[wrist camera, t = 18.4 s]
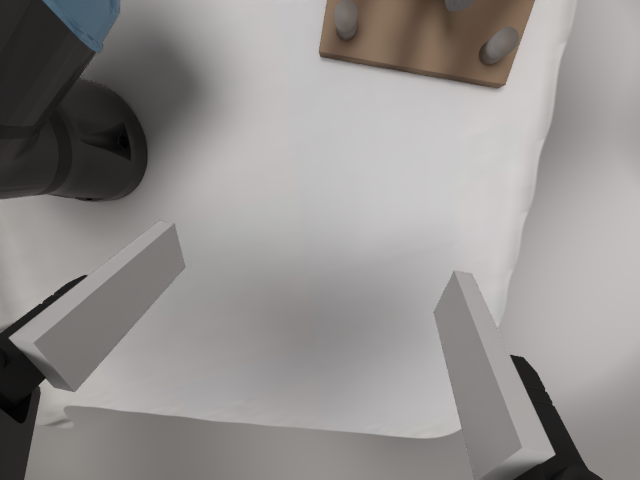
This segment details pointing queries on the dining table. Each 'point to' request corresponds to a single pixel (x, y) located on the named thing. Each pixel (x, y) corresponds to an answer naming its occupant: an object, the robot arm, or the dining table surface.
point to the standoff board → (428, 37)
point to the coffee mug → (457, 5)
